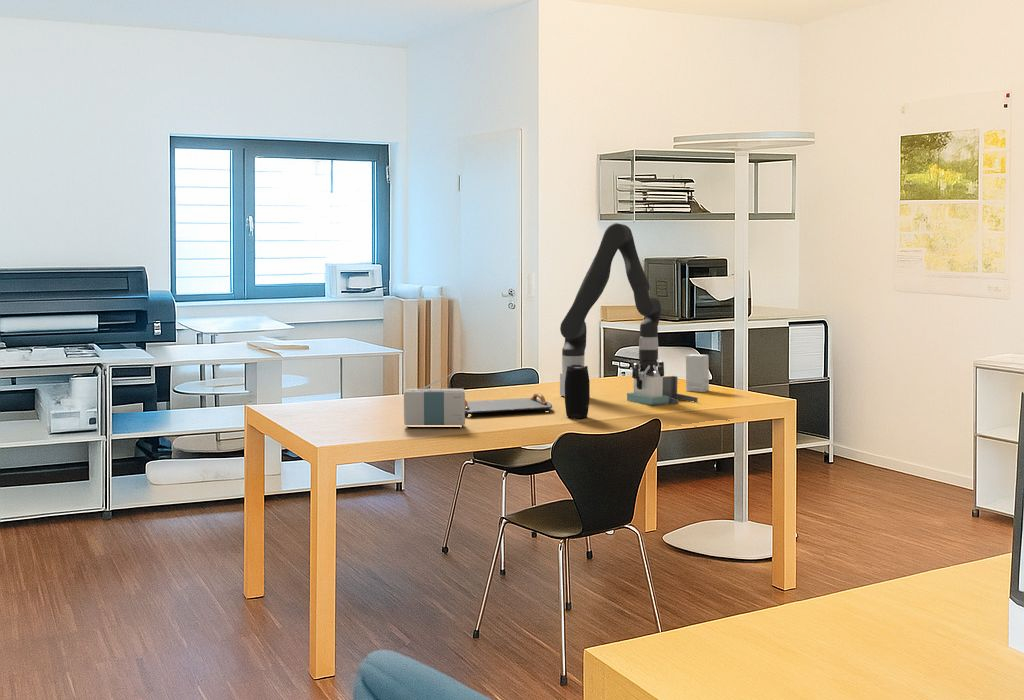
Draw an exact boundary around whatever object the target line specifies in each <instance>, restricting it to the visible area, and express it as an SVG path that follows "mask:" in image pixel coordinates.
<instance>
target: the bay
mask: <svg viewBox="0 0 1024 700" xmlns="http://www.w3.org/2000/svg"><path fill="white" fill-rule="evenodd" d="M662 377H663V392H662V395H664V396H669V404H671V405H675V404H676V405H677V404H678V405H679V402H680V401H679V400H680V399H682V400H681V401H685V400H688V401H687V402H690V401H694V402H693V403H695V402H698V397H696V396H692V395H687V394H682V393H678V376H676V375H668V376H662ZM675 398H677V399H675Z"/></svg>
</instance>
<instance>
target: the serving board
mask: <svg viewBox="0 0 1024 700" xmlns="http://www.w3.org/2000/svg"><path fill="white" fill-rule="evenodd" d="M538 398H539V399H538ZM552 408H553V404H552V403H551V402H549V401H548V400H547V401H546V397H545V396H544V395H542V394H541V393H539V392H538V393H533V395H532V396H531V397H530V398H529V397H526V398H522V397H521V398H507V399H492V400H491V399H487V400H472V401H471V400H470V401H467V399H465V414H466V415H467V414H472V415H473V414H479V413H490V412H491V413H494V412H496V413H497V412H511V411H526V410H527V411H528V410H529V411H530V410H542V409H543V410H544V412H545V411H550V412H551V409H552Z"/></svg>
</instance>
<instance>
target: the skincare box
mask: <svg viewBox="0 0 1024 700" xmlns="http://www.w3.org/2000/svg"><path fill="white" fill-rule="evenodd" d="M709 363H710V362H709V354H695V353H690V354H686V355H685V382H686V383H685V384H686V386H685V387H686V388H685V391H686V392H693V393H694V392H697V393H705V392H708V391H709V390H710V384H709V383H710V382H709V381H710V377H709V376H710V374H709V372H710V369H709V367H710V366H709V365H710V364H709Z"/></svg>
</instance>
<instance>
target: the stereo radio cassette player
mask: <svg viewBox="0 0 1024 700" xmlns="http://www.w3.org/2000/svg"><path fill="white" fill-rule="evenodd" d="M460 371H461V369H458V370H457V371H454V372H452V373H450V374H448V375H446V376H443V377H442V378H440V379H438V380H436V381H433V382H432V383H430V384H427V385H426V386H423V387H422V388H406V389H405V390H404V392H403V420H404V421H403V425H404V424H405V425H464V426H465V425H466V413H465V400H466V395H465V394H466V393H465V389H464V388H429V387H431V386H432V385H435V384H437V383H439V382H441V381H443V380H445V379H446V378H449V377H450V376H452V375H454V374H456V373H457V372H460ZM405 425H404V426H405Z"/></svg>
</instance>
